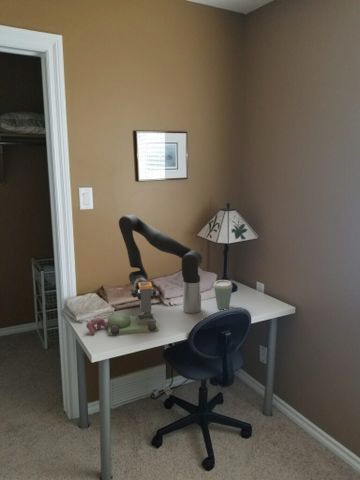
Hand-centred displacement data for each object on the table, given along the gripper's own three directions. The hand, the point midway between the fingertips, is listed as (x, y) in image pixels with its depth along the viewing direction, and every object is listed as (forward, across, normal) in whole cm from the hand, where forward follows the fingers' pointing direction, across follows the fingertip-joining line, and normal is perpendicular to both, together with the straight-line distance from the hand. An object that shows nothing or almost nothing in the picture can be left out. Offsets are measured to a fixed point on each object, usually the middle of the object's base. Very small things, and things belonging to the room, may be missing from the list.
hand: (146, 297), depth 192 cm
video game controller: (-1, -24, +16) cm, 29 cm away
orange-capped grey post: (-3, 0, +8) cm, 8 cm away
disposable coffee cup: (-15, +45, +15) cm, 50 cm away
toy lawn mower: (-2, -7, +16) cm, 17 cm away
